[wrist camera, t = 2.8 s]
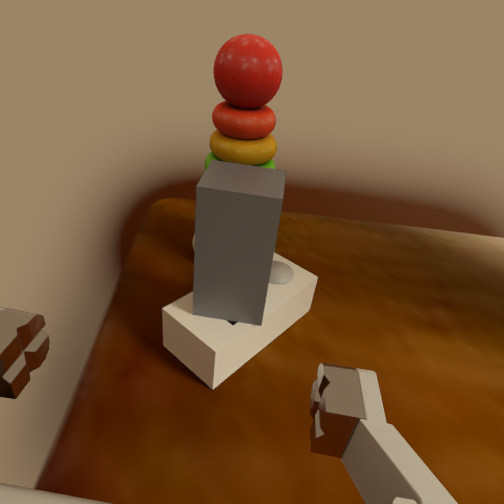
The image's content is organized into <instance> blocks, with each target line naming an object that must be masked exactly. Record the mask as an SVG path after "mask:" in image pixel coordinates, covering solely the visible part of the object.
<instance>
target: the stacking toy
mask: <svg viewBox="0 0 504 504" xmlns="http://www.w3.org/2000/svg"><path fill="white" fill-rule="evenodd" d="M214 79H215V83H216V86H217V89H218V91H219V93H220V94H221V96H222V97H223V98H224V99H225V100H226V101H224V102H222V103H220V104H218V105H217V106H216V107H215V109H214V110H213V114H212V120H213V123H214V125H215V127H216V128H217V130H216V131H214V132H213V134H212V135H211V137H210V149H211V151H212V152H211V153H209V154H208V156H207V157H206V160H205V170H206V169H207V168H208V166H209V164H210V162H211V161H212V160H216V161H223V162H230V163H237V164H244V165H250V166H257V167H264V168H271V169H275V164H274V161H273V160H272V158H273V157H274V155H275V153H276V150H277V144H276V141H275V139H274V137H273V136H272V135H271V134H270V133H271V132H272V131H273V129H274V127H275V124H276V117H275V114H274V112H273V111H272V109H270V108H269V107H267V106H266V105H265V104H267V103H268V102H269V101H270V100H271V99H272V98H273V97H274V96H275V94H276V93H277V91H278V89H279V87H280V84H281V80H282V63H281V59H280V56H279V54H278V52H277V50H276V49H275V48H274V46H273V45H272V44H271V43H270V42H268V41H267V40H266V39H264V38H262V37H260V36H257V35H252V34H244V35H238V36H235V37H233V38H231V39H230V40H228V41H227V42H226V43H225V44H224V45H223V46H222V47H221V48H220V50H219V52H218V54H217V56H216V59H215V63H214ZM192 245H193V250H195V234H194V236H193V240H192ZM274 251H275V249H274Z"/></svg>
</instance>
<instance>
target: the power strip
mask: <svg viewBox="0 0 504 504" xmlns="http://www.w3.org/2000/svg"><path fill="white" fill-rule="evenodd" d="M317 279H318V277H317V276H315V275H314V274H312V273H310V272H308V271H307V270H305V269H303V268H301V267H299V266H298V265H296V264H294V263H292V262H291V261H289V260H287V259H285V258H284V257H282V256H280V255H278V254H276V253H275V252H274V255H273V261H272V267H271V273H270V279H269V284H268V290H267V296H266V302H265V308H264V314H263V320H262V325H261V326H258V325H252V324H246V323H240V322H238V323H236V324H235V325H232V324H230V323H229V322H227V321H226V320H221V319H215V318H209V317H203V316H196V315H192V314H193V291H192V292H191V293H189V294H187V295H185V296H183V297H182V298H180V299H178V300H176V301H174V302H173V303H171V304H169V305H167V306H165V307H164V308H162V319H163V346H164V347H165V348H167V349H168V350H169V351H170V352H171V353H172V354H173V355H174V356H175V357H177V358H178V359H179V360H180V361H181V362H182V363H183V364H184V365H186V366H187V367H188V368H189V369H190V370H191V371H192V372H193V373H194V374H196V375H197V376H198V377H199V378H200V379H201V380H202V381H203V382H205V383H206V384H207V385H208V386H209V387H210V388H211V389H212V390H213V389H214V388H215V387H216V386H218V385H219V384H220V383H221V382H223V381H224V380H225V379H226V378H228V377H229V376H230V375H231V374H232V373H234V372H235V371H236V370H237V369H239V368H240V367H241V366H242V365H243V364H245V363H246V362H247V361H248V360H250V359H251V358H252V357H253V356H254V355H256V354H257V353H258V352H259V351H261V350H262V349H263V348H264V347H265V346H267V345H268V344H269V343H270V342H272V341H273V340H274V339H275V338H276V337H278V336H279V335H280V334H281V333H283V332H284V331H285V330H286V329H287V328H289V327H290V326H291V325H292V324H294V323H295V322H296V321H297V320H298V319H300V318H301V317H302V316H303V315H305V314H306V313H307V312H308V311H309V310H310V306H311V302H312V299H313V295H314V291H315V287H316V283H317Z"/></svg>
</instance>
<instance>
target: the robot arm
mask: <svg viewBox="0 0 504 504" xmlns="http://www.w3.org/2000/svg"><path fill="white" fill-rule="evenodd" d="M44 326H45V321H44V317H43V316H42V315H38V314H34V313H29V312H24V311H19V310H14V309H9V308H3V307H0V397H4V398H11V399H16V398H17V397H18V395H19V394H20V392H21V391H22V390H23V389H24V387H25V386H26V385H27V383H28V382H29V381H30V372H31V371H33V370H35V369H37V368H38V367H40V366H41V364H42V363H43V361H44V360H45V358H46V355H47V353H48V350H49V337H48V335H47V334H46V333H45V332H44V331H43V330H42V328H43V327H44ZM310 415H311V417H312V418H313V423H312V426H311V428H310V436H311V452H314V453H319V454H324V455H329V456H333V457H338V458H342V459H341V460H342V462H343V464H344V466H345V468H346V469H347V471H348V473H349V475H350V476H351V478H352V480H353V482H354V484H355V485H356V487H357V489H358V491H359V493H360V494H361V496H362V498H363V500H364V502H365V503H366V504H458V503H457V502H456V501H455V500H454V499H453V497H452V496H451V495H450V494H449V493H448V491H447V490H446V489H445V488H444V487H443V485H442V484H441V483H440V482H439V481H438V479H437V478H436V477H435V476H434V475H433V473H432V472H431V471H430V470H429V468H428V467H427V466H426V465H425V464H424V462H423V461H422V460H421V459H420V458H419V456H418V455H417V454H416V453H415V452H414V450H413V449H412V448H411V447H410V446H409V444H408V443H407V442H406V441H405V440H404V438H403V437H402V436H401V435H400V434H399V432H398V431H397V430H396V429H395V427H394V426H393V425H392V424H387V423H386V418H385V413H384V409H383V404H382V399H381V394H380V390H379V385H378V380H377V375H376V373H375V372H374V371H370V370H364V369H358V368H356V369H355V368H352V367H346V366H340V365H334V364H327V363H321V364H320V365H319V368H318V379H317V380H316V381H314V384H313V387H312V392H311V398H310ZM0 504H111V503H106V502H101V501H95V500H90V499H84V498H79V497H73V496H68V495H63V494H57V493H52V492H46V491H41V490H36V489H30V488H25V487H19V486H13V485H8V484H3V483H0Z"/></svg>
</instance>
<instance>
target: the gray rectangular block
mask: <svg viewBox="0 0 504 504" xmlns="http://www.w3.org/2000/svg"><path fill="white" fill-rule="evenodd" d="M285 176H286V171H284V170H278V169H271V168H264V167H257V166H250V165H244V164H237V163H230V162H223V161H216V160H212V161H211V162H210V164H209V166H208V168H207V169H206V171H205V173H204V175H203V176H202V178H201V179H200V181H199V183H198V184H197V186H196V218H195V250H194V282H193V314H192V315H196V316H203V317H209V318H215V319H221V320H226V321H227V322H229V323H230V324H232V325H235V324H236V323H238V322H240V323H246V324H252V325H258V326H261V325H262V320H263V314H264V308H265V302H266V296H267V290H268V284H269V279H270V273H271V267H272V261H273V255H274V249H275V243H276V238H277V232H278V226H279V220H280V214H281V208H282V202H283V195H284V186H285Z"/></svg>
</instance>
